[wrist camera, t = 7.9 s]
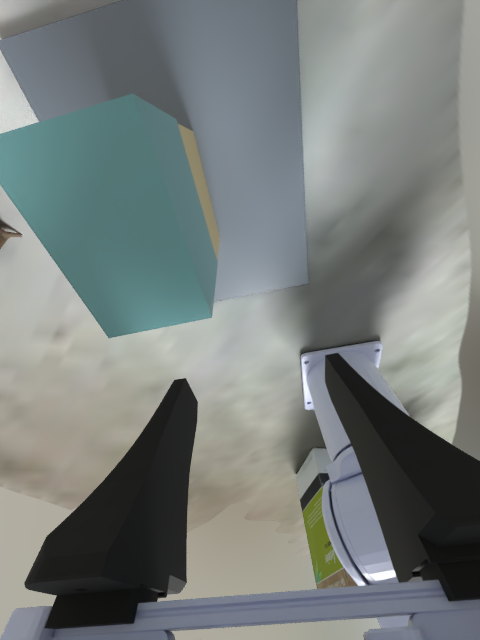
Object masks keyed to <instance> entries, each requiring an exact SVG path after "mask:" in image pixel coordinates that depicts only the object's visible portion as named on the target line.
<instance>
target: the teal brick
mask: <svg viewBox="0 0 480 640" xmlns="http://www.w3.org/2000/svg"><path fill="white" fill-rule="evenodd" d="M0 185H1V186H2V188H3V189H4V191H5V192H6V193H7V195H8V196H9V198H10V199H11V200H12V202H13V203H14V205H15V206H16V207H17V209H18V210H19V212H20V213H21V215H22V216H23V217H24V219H25V220H26V222H27V223H28V224H29V226H30V227H31V229H32V230H33V232H34V233H35V234H36V236H37V237H38V239H39V240H40V241H41V243H42V244H43V246H44V247H45V249H46V250H47V251H48V253H49V254H50V256H51V257H52V258H53V260H54V261H55V263H56V264H57V265H58V267H59V268H60V270H61V271H62V273H63V274H64V275H65V277H66V278H67V280H68V281H69V282H70V284H71V285H72V287H73V288H74V290H75V291H76V292H77V294H78V295H79V297H80V298H81V299H82V301H83V302H84V304H85V305H86V306H87V308H88V309H89V311H90V312H91V314H92V315H93V316H94V318H95V319H96V321H97V322H98V323H99V325H100V326H101V328H102V329H103V331H104V332H105V333H106V335H107V336H108V338H112V337H117V336H122V335H127V334H132V333H137V332H142V331H147V330H152V329H157V328H162V327H167V326H172V325H177V324H182V323H187V322H192V321H197V320H202V319H207V318H212V311H213V303H214V294H215V285H216V276H217V267H218V262H217V259H216V255H215V252H214V248H213V245H212V241H211V238H210V234H209V231H208V227H207V224H206V220H205V217H204V213H203V210H202V206H201V203H200V199H199V196H198V193H197V189H196V186H195V182H194V179H193V175H192V172H191V168H190V165H189V161H188V158H187V154H186V151H185V147H184V144H183V140H182V137H181V133H180V130H179V126H178V123H177V119H176V118H174V117H172V116H170V115H169V114H167V113H165V112H164V111H162V110H160V109H158V108H157V107H155V106H153V105H152V104H150V103H148V102H147V101H145V100H143V99H141V98H140V97H138V96H136V95H135V94H130V95H126V96H123V97H120V98H117V99H113V100H110V101H107V102H104V103H100V104H97V105H94V106H90V107H87V108H84V109H81V110H77V111H74V112H71V113H68V114H64V115H61V116H58V117H54V118H51V119H48V120H45V121H41V122H38V123H35V124H32V125H28V126H25V127H22V128H19V129H15V130H12V131H9V132H5V133H2V134H0Z"/></svg>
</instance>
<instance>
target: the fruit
mask: <svg viewBox="0 0 480 640" xmlns="http://www.w3.org/2000/svg"><path fill="white" fill-rule="evenodd" d="M21 235H22V234H21V233H11V232H6V231H4V230H2V229H1V228H0V249H1V247H2V246H3V245H4V243H5V242H6V240H7V239H8V238H10V237H22V236H21Z"/></svg>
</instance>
